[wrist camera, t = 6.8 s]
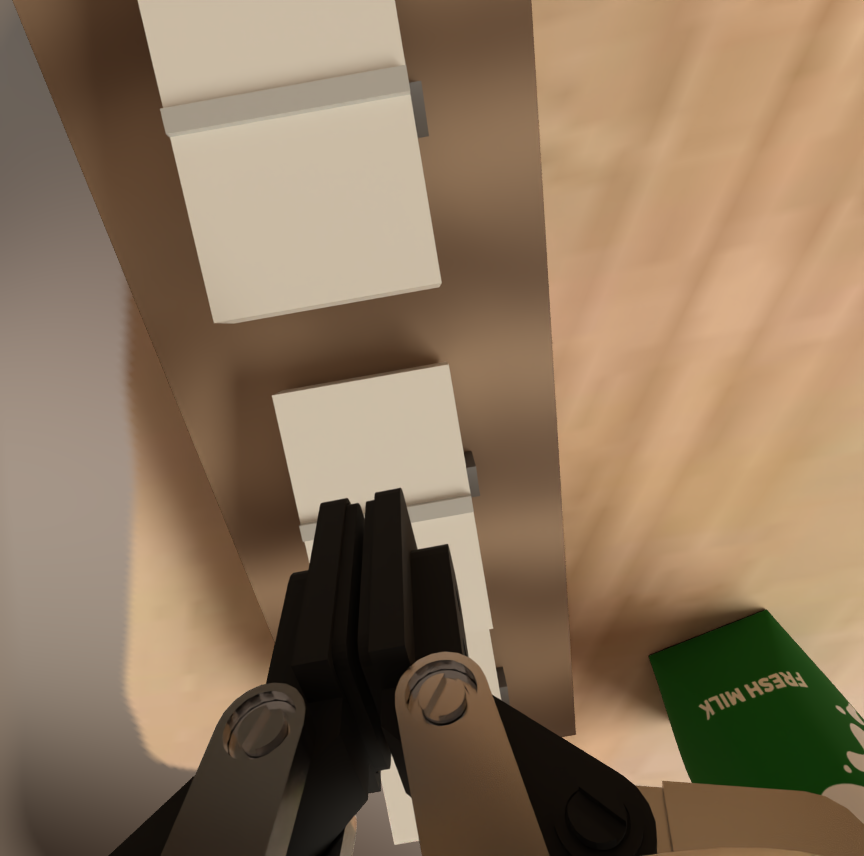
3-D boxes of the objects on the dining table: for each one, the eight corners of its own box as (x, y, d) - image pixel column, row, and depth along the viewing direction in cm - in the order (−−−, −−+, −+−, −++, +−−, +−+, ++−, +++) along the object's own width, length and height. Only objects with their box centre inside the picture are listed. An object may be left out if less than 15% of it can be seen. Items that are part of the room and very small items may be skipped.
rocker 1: (146, -52, 13) (108, -107, 11) (376, -94, 13) (370, -154, 11) (233, 323, 14) (210, 323, 13) (439, 287, 14) (442, 281, 13)
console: (73, -21, 17) (-66, -88, 12) (484, -94, 17) (531, -196, 12) (330, 688, 32) (320, 800, 27) (549, 650, 32) (582, 754, 27)
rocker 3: (358, 633, 23) (354, 653, 22) (484, 611, 23) (489, 630, 22) (396, 816, 24) (394, 849, 23) (516, 796, 24) (523, 826, 23)
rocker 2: (283, 390, 18) (270, 396, 16) (446, 361, 18) (449, 364, 16) (336, 633, 19) (329, 660, 18) (487, 607, 19) (494, 631, 18)
